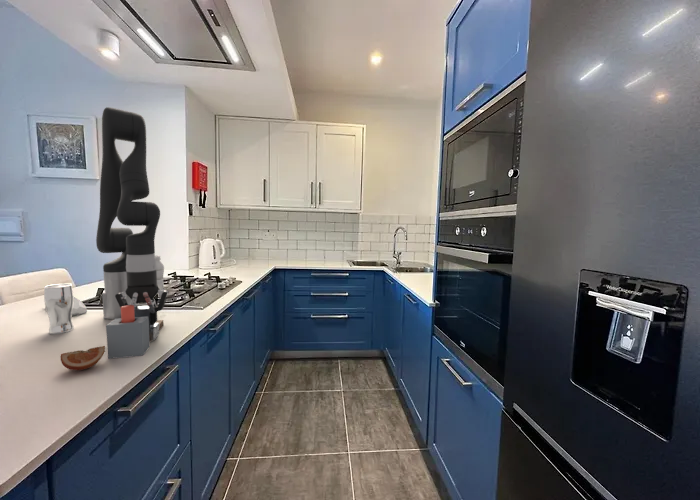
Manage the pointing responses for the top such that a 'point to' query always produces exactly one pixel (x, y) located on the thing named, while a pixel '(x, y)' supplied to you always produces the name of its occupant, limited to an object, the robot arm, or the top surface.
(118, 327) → the cabinet
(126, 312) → the button
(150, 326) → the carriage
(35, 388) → the top surface
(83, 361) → the fruit slice
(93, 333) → the top surface
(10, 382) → the top surface
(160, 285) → the plastic bottle
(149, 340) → the rail
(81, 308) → the crystal
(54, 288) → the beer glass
